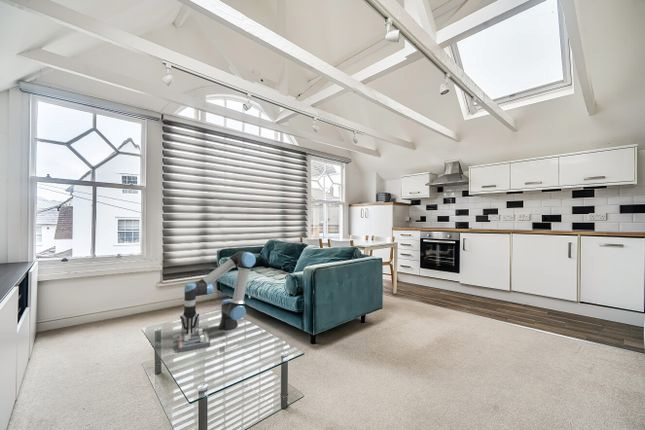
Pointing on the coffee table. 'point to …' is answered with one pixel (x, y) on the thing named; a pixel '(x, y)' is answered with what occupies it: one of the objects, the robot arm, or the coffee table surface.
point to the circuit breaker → (189, 325)
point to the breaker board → (193, 342)
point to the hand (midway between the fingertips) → (189, 338)
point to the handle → (200, 331)
